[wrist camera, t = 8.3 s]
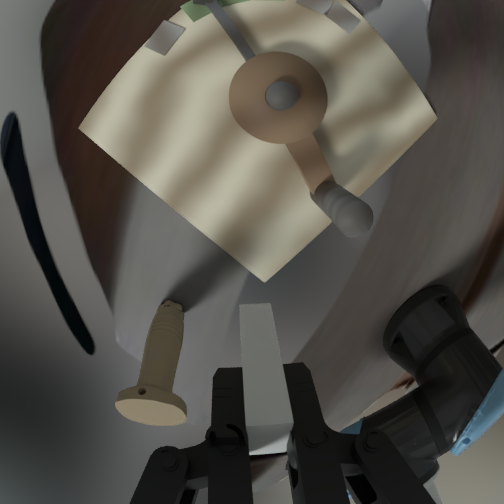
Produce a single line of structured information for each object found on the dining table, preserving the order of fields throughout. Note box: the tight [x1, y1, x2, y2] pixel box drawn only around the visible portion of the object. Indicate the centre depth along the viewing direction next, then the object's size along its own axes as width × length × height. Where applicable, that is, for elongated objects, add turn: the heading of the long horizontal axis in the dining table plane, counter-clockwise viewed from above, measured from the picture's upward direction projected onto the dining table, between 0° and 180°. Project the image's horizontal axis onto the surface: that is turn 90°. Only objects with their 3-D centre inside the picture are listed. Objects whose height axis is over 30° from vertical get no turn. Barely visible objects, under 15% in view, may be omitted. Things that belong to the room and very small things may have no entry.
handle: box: [115, 300, 187, 426], centre depth 26 cm, size 5×6×15 cm
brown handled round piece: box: [193, 0, 373, 238], centre depth 18 cm, size 25×8×8 cm, turn 30°
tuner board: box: [79, 0, 437, 282], centre depth 22 cm, size 26×28×1 cm
